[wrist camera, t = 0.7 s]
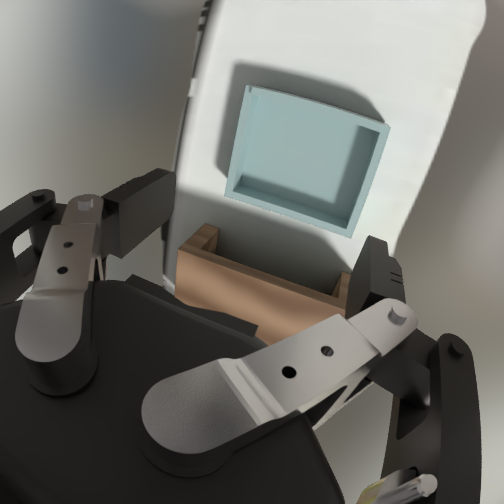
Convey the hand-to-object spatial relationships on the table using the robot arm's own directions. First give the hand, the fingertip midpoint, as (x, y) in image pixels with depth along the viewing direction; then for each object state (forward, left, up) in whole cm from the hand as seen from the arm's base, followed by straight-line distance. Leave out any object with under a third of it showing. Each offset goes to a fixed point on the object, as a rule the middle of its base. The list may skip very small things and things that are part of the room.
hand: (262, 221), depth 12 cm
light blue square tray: (+2, -1, -22) cm, 22 cm away
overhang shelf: (+21, -1, -22) cm, 31 cm away
